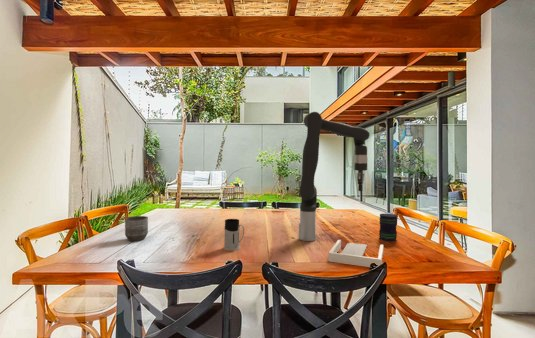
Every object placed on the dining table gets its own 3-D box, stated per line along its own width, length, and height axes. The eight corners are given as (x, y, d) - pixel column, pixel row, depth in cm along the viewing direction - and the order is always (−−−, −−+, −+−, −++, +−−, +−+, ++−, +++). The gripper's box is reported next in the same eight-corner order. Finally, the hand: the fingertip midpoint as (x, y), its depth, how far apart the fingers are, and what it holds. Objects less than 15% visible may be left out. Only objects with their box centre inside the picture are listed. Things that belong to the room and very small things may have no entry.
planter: (120, 241, 168) (120, 218, 168) (136, 236, 180) (136, 215, 179) (136, 243, 164) (136, 220, 164) (152, 238, 175) (152, 216, 175)
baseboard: (333, 260, 141) (359, 264, 136) (333, 254, 141) (359, 258, 136) (345, 244, 169) (367, 247, 164) (345, 239, 169) (367, 242, 164)
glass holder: (233, 245, 163) (233, 217, 163) (250, 250, 153) (250, 221, 153) (220, 248, 157) (220, 220, 157) (236, 254, 147) (237, 224, 146)
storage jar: (393, 237, 183) (394, 213, 182) (399, 242, 173) (399, 216, 172) (377, 237, 184) (377, 213, 183) (381, 241, 174) (382, 216, 173)
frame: (328, 261, 138) (328, 252, 138) (338, 247, 161) (338, 239, 161) (381, 268, 129) (381, 259, 129) (383, 252, 152) (383, 244, 152)
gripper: (355, 162, 186) (355, 189, 187) (352, 162, 174) (352, 191, 174) (368, 162, 183) (367, 190, 184) (366, 162, 171) (365, 192, 171)
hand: (360, 191), depth 179 cm, fingers closed
